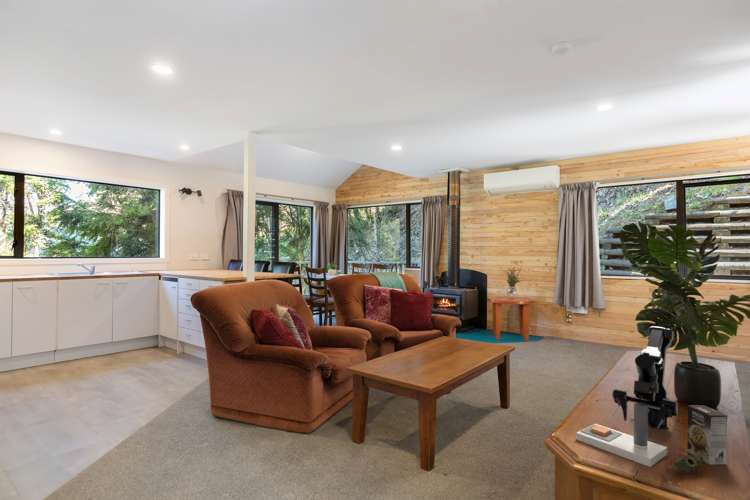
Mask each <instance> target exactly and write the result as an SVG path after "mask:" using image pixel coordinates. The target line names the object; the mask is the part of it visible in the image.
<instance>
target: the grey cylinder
mask: <svg viewBox="0 0 750 500" xmlns="http://www.w3.org/2000/svg"><path fill="white" fill-rule="evenodd" d="M648 431H649V425H648V406H647V405H645V404H640V403H635V402H634V403H633V436H634V447H636V448H639V449H648V441H649V440H648V438H649V436H648Z"/></svg>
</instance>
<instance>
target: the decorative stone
mask: <svg viewBox="0 0 750 500" xmlns="http://www.w3.org/2000/svg"><path fill="white" fill-rule="evenodd" d="M702 462H704V461H703V458H702V457H699V456H694V455H682V456H680V457H678V458H677V459H676V460H675V461H674V462H672V464H671V466H672V467H673V468H674V470H675V471H676V472H680V473H683V474H691V473H694V472H696V471H697V470H699V468H700V467H701V466H702Z"/></svg>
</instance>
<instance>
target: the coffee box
mask: <svg viewBox="0 0 750 500" xmlns="http://www.w3.org/2000/svg"><path fill="white" fill-rule="evenodd" d="M686 439H687V444H686V445H687V446H686V450H687V451H686V452H687V453H689V454H690V455H691V456H699V457H702V458H703V461H702V462H705V463H706V464H707V465H711V466H713V465H727V449H728V448H727V445H728V444H727V443H728V442H727V441H728V414H725V413H722V412H720V411H718V410H716V409H713V408H712V407H709V406H707V405H703V404H702V405H700V404H691V405H687V437H686Z"/></svg>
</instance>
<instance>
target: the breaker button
mask: <svg viewBox="0 0 750 500" xmlns="http://www.w3.org/2000/svg"><path fill="white" fill-rule="evenodd" d="M598 425H599V424H598ZM598 425H597V426H595V427H593V428H591V432H592V433H594V434H597V435H600V436H603V437H607V436H609V435H611V430H610V429H611V428H610V429H607V428H608V427H607V428H604V427H605V426H604V427H601V426H602V425H601V426H598Z"/></svg>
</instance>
